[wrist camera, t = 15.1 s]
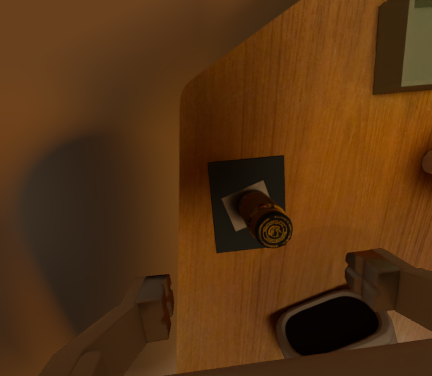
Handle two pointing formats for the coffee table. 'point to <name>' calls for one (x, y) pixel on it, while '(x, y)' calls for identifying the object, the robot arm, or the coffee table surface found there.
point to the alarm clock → (332, 326)
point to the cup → (427, 162)
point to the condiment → (259, 215)
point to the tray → (404, 47)
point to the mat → (235, 181)
